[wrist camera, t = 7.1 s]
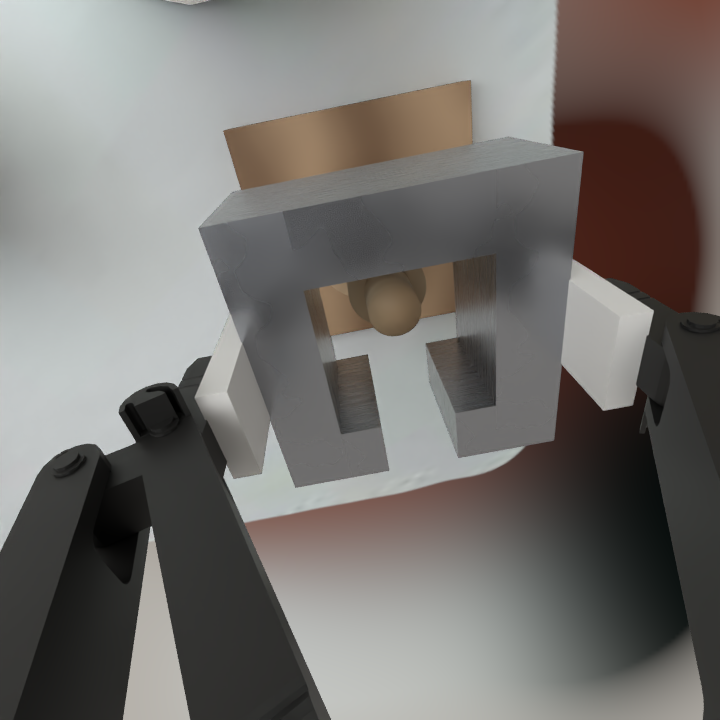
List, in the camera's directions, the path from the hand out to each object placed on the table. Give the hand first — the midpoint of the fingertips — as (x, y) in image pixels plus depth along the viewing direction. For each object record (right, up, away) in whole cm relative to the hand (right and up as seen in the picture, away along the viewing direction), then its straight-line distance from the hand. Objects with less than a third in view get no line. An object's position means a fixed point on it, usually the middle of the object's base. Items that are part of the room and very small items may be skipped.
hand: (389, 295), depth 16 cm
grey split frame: (0, 0, 0) cm, 0 cm away
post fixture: (-1, +6, +9) cm, 10 cm away
